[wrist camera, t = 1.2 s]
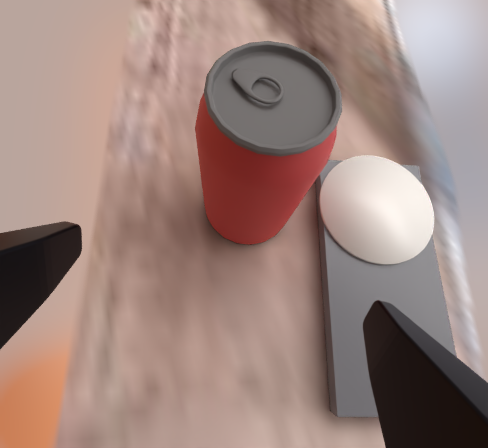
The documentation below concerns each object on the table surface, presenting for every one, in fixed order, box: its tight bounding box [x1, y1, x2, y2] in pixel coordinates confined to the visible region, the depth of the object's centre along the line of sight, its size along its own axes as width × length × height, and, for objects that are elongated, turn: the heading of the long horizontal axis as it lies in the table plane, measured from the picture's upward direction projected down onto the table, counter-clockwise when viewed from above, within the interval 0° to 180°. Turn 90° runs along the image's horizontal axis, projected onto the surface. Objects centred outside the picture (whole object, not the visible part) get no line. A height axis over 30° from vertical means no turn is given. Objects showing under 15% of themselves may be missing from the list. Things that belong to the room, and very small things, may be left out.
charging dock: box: [315, 155, 457, 417], centre depth 21 cm, size 18×9×2 cm, turn 179°
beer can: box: [195, 41, 342, 245], centre depth 17 cm, size 7×7×12 cm
